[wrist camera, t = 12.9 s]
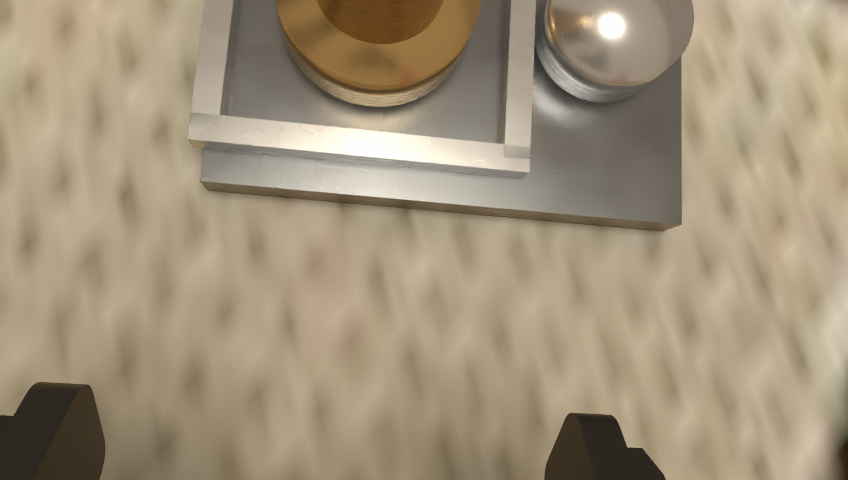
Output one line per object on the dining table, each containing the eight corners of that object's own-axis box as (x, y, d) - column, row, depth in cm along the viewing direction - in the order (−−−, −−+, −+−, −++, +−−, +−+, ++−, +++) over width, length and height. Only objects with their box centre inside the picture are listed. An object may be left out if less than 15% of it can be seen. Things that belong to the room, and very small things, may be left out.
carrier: (198, 189, 20) (171, 161, 17) (241, -151, 22) (224, -234, 19) (663, 230, 22) (717, 212, 18) (664, -88, 23) (713, -154, 20)
